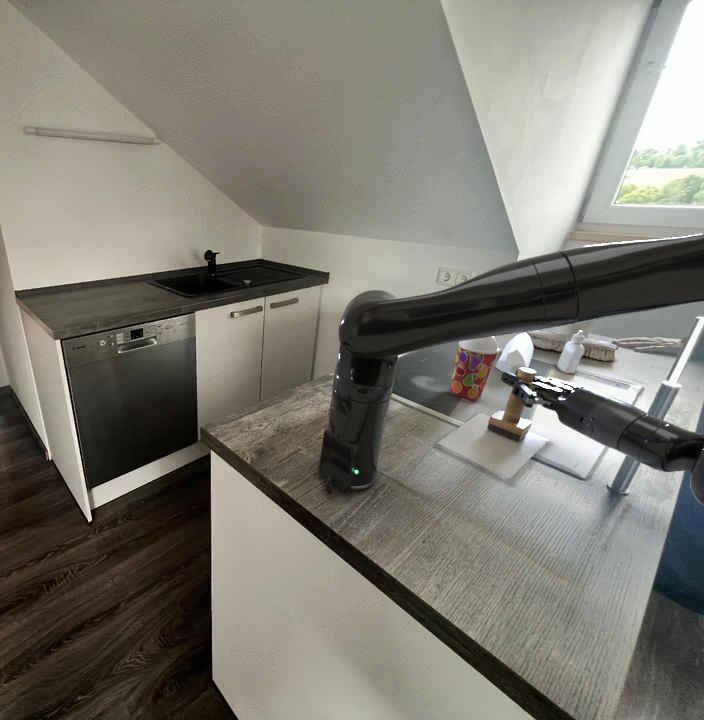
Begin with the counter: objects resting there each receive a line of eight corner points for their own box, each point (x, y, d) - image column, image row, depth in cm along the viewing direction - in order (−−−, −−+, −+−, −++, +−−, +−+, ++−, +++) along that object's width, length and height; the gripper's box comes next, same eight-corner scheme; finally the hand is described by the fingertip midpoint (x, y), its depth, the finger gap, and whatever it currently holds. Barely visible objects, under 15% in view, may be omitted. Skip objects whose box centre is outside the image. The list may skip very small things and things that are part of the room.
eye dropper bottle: (554, 370, 112) (569, 331, 107) (557, 364, 116) (572, 326, 111) (573, 375, 109) (589, 335, 105) (576, 369, 113) (592, 330, 108)
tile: (508, 483, 69) (510, 478, 68) (435, 447, 78) (436, 443, 78) (547, 443, 79) (549, 439, 79) (479, 416, 89) (480, 412, 89)
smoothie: (480, 392, 99) (504, 318, 91) (485, 407, 93) (511, 328, 85) (444, 386, 103) (463, 313, 95) (446, 400, 96) (467, 323, 88)
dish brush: (518, 442, 77) (541, 378, 72) (486, 428, 82) (505, 368, 77) (527, 434, 80) (550, 372, 75) (495, 421, 85) (515, 362, 80)
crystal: (502, 335, 128) (489, 357, 111) (528, 329, 122) (519, 351, 106) (509, 356, 128) (498, 381, 111) (536, 351, 123) (528, 376, 106)
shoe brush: (612, 356, 122) (619, 341, 120) (615, 364, 117) (622, 348, 115) (519, 339, 136) (524, 326, 134) (518, 345, 130) (523, 331, 128)
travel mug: (592, 344, 132) (613, 292, 125) (568, 343, 132) (588, 291, 125) (573, 336, 139) (592, 286, 132) (550, 335, 139) (568, 286, 132)
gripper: (644, 394, 64) (542, 355, 80) (580, 404, 61) (487, 361, 76) (625, 432, 67) (530, 387, 83) (563, 443, 64) (477, 395, 79)
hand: (510, 375), depth 79 cm, fingers closed on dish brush, 3 cm apart
